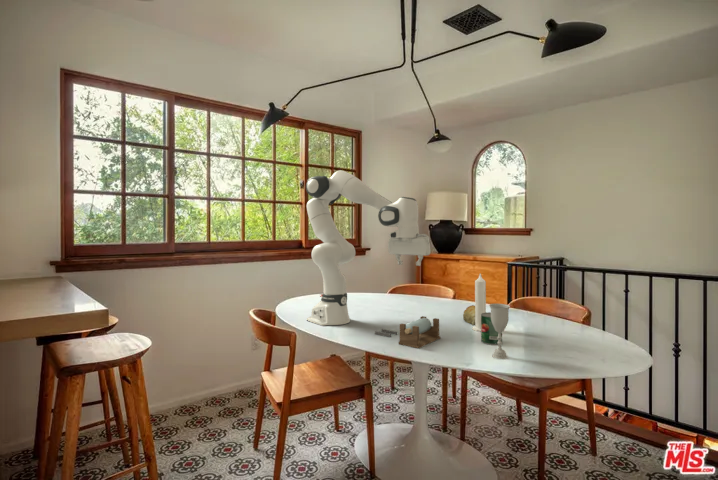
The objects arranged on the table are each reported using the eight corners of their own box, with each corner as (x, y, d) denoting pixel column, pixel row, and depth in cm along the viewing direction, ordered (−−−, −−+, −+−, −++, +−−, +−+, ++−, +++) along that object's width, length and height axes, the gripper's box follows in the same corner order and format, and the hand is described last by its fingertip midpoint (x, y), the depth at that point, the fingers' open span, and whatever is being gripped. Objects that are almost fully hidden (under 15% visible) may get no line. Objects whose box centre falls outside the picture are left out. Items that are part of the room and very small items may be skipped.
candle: (490, 332, 171) (489, 274, 170) (473, 331, 172) (472, 274, 171) (488, 327, 178) (487, 272, 177) (471, 327, 179) (471, 272, 178)
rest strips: (374, 334, 171) (374, 331, 171) (382, 331, 175) (382, 328, 175) (389, 337, 166) (389, 334, 166) (397, 334, 170) (397, 331, 170)
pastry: (467, 318, 198) (467, 302, 198) (493, 320, 191) (493, 304, 191) (458, 324, 186) (458, 307, 186) (485, 327, 179) (485, 309, 179)
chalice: (486, 353, 142) (485, 303, 142) (504, 352, 143) (504, 303, 142) (494, 360, 135) (494, 308, 135) (514, 359, 136) (513, 307, 135)
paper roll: (429, 332, 166) (420, 323, 168) (436, 323, 163) (426, 314, 166) (407, 341, 153) (398, 331, 156) (414, 331, 151) (404, 321, 154)
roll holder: (418, 348, 150) (418, 327, 149) (398, 344, 156) (398, 324, 155) (440, 338, 163) (440, 319, 162) (421, 334, 169) (421, 316, 168)
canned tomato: (476, 340, 158) (476, 313, 158) (492, 338, 162) (492, 311, 161) (490, 346, 151) (490, 317, 151) (506, 343, 154) (506, 315, 154)
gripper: (433, 233, 169) (433, 265, 170) (394, 233, 183) (394, 263, 183) (425, 233, 165) (425, 267, 165) (385, 234, 178) (386, 264, 178)
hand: (409, 265), depth 174 cm, fingers open, 8 cm apart
